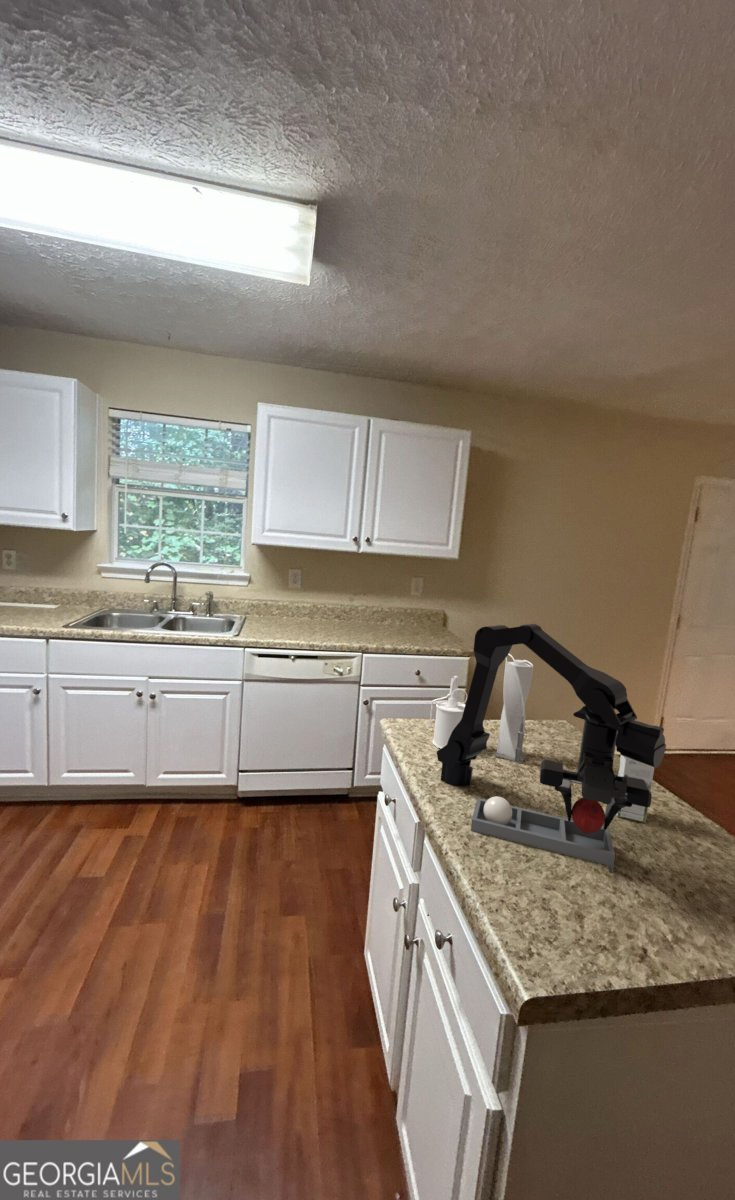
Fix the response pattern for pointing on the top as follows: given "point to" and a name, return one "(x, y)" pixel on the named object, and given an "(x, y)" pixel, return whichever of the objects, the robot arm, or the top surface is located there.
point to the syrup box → (640, 772)
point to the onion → (588, 815)
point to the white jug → (447, 714)
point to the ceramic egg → (498, 810)
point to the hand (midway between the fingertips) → (586, 824)
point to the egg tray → (548, 834)
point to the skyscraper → (514, 710)
